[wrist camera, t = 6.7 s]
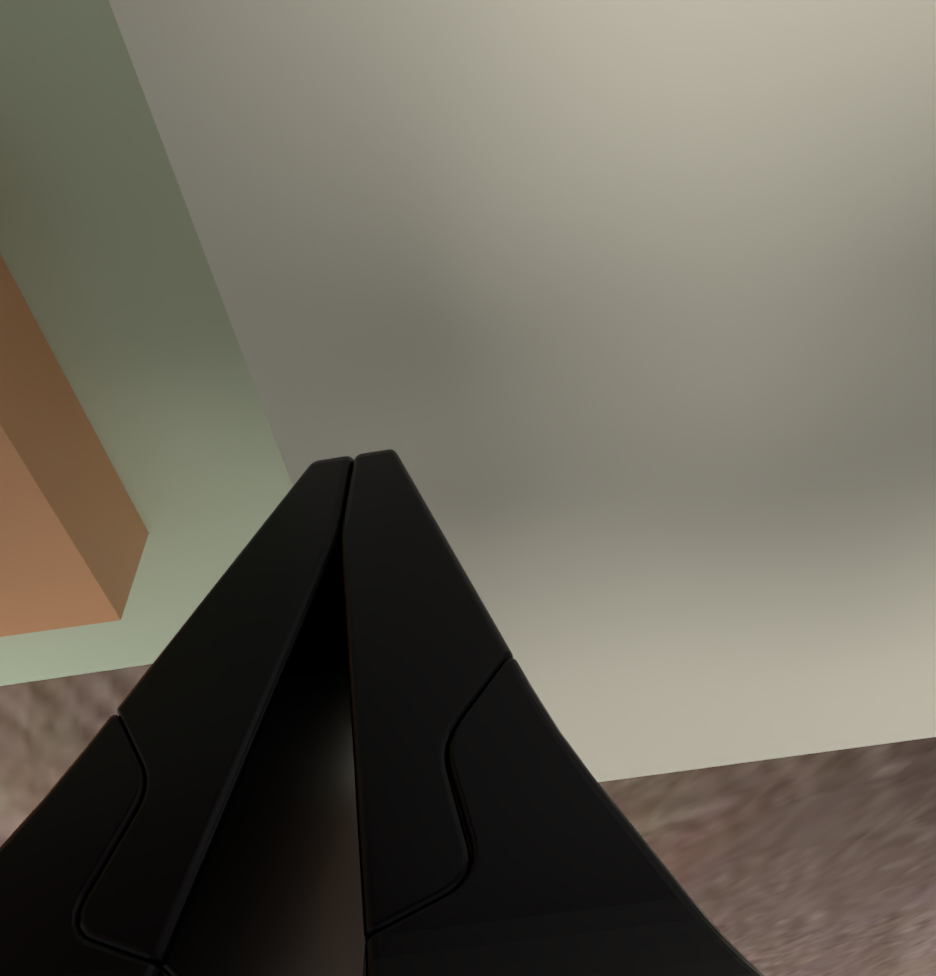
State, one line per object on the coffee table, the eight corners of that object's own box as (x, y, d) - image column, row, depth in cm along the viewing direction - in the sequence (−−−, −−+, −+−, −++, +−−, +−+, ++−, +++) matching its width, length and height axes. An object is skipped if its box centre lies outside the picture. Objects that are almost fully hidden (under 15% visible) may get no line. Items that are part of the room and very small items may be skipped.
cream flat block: (1006, 539, 17) (1135, 710, 14) (412, 626, 18) (414, 807, 15) (1516, -894, 7) (2404, -1405, 4) (54, -559, 8) (-183, -768, 4)
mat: (383, 614, 18) (383, 630, 17) (-4, 671, 18) (-10, 687, 18) (27, -462, 8) (12, -471, 8) (-793, -279, 8) (-839, -282, 8)
